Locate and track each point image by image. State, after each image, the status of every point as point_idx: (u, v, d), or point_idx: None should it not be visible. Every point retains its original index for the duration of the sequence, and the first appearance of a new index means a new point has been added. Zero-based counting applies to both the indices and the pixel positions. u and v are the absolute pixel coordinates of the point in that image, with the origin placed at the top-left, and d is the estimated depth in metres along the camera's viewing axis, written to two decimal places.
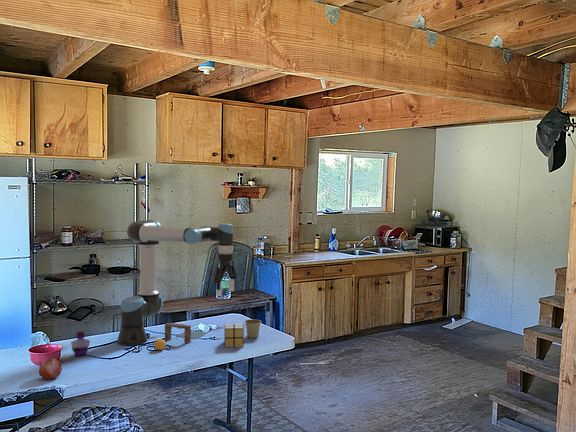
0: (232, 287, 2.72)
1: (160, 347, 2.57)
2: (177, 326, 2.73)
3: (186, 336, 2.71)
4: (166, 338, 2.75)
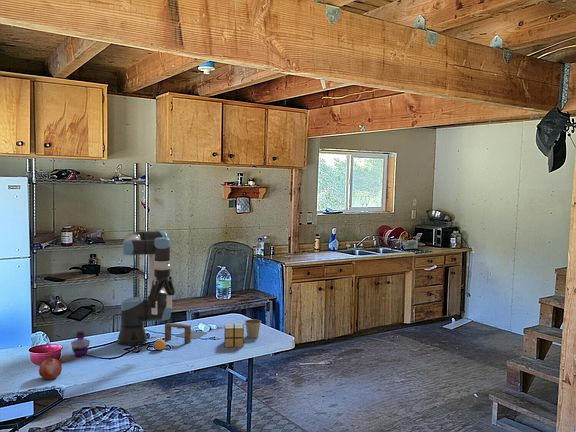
0: (170, 304, 2.59)
1: (160, 347, 2.57)
2: (177, 326, 2.73)
3: (186, 336, 2.71)
4: (166, 338, 2.75)
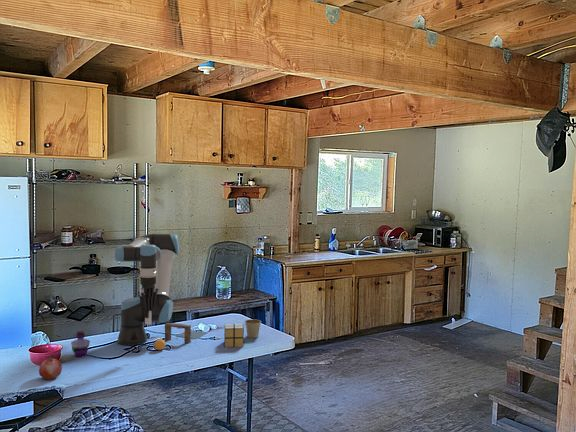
0: None
1: (160, 347, 2.57)
2: (177, 326, 2.73)
3: (186, 336, 2.71)
4: (166, 338, 2.75)
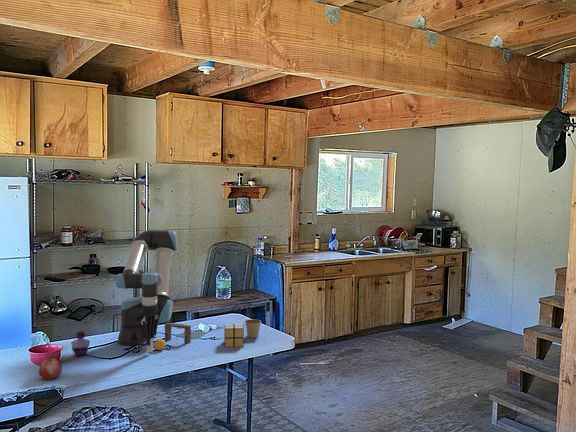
0: None
1: (160, 347, 2.57)
2: (177, 326, 2.73)
3: (186, 336, 2.71)
4: (166, 338, 2.75)
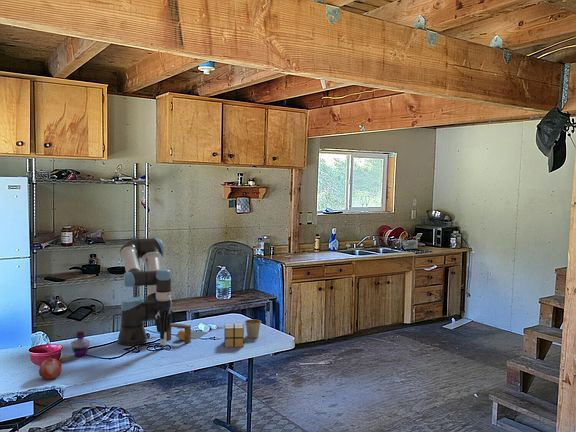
0: None
1: (183, 335, 2.75)
2: (177, 326, 2.73)
3: (186, 336, 2.71)
4: (166, 338, 2.75)
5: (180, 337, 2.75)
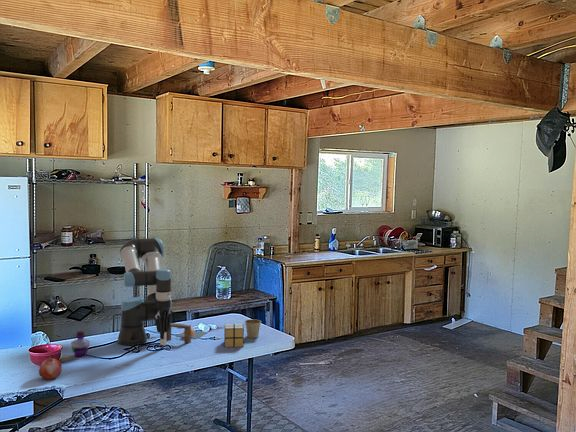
0: None
1: (192, 329, 2.83)
2: (177, 326, 2.73)
3: (186, 336, 2.71)
4: (166, 338, 2.75)
5: None
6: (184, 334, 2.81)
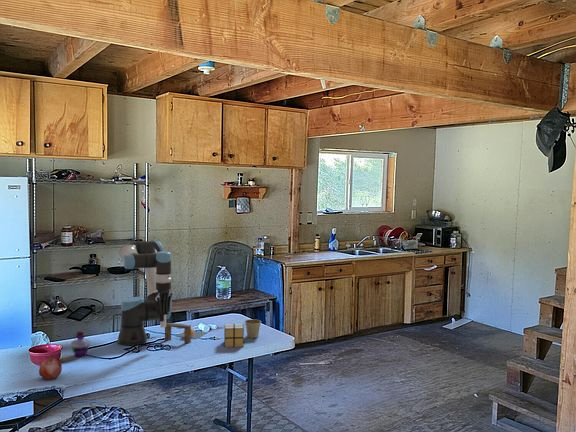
0: None
1: (192, 329, 2.83)
2: (177, 326, 2.73)
3: (186, 336, 2.71)
4: (166, 338, 2.75)
5: None
6: (184, 334, 2.81)
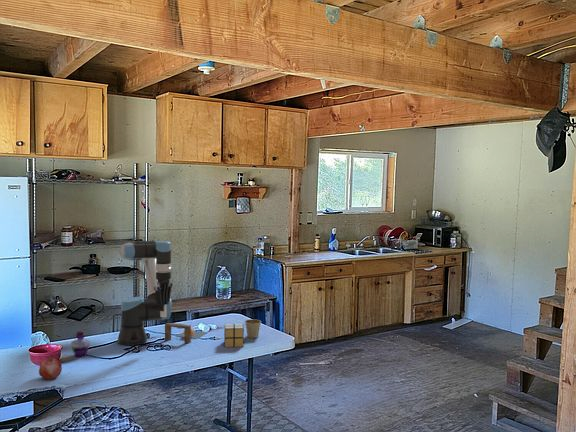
0: None
1: (192, 329, 2.83)
2: (177, 326, 2.73)
3: (186, 336, 2.71)
4: (166, 338, 2.75)
5: None
6: (184, 334, 2.81)
